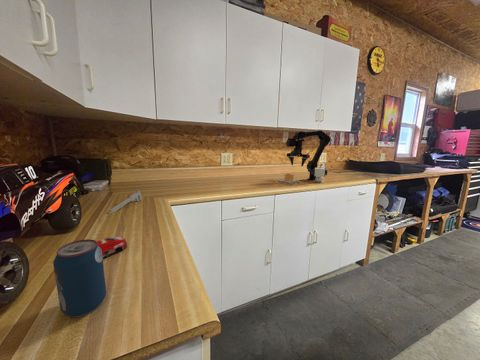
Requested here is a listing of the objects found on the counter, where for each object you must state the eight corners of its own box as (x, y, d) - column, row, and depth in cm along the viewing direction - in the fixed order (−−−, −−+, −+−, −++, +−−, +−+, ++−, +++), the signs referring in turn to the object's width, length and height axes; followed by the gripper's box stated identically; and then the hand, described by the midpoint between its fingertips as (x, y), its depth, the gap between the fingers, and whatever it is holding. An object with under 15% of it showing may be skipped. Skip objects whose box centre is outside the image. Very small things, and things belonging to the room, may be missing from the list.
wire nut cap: (287, 179, 172) (288, 172, 170) (293, 180, 168) (293, 173, 167) (284, 180, 168) (284, 173, 167) (289, 181, 165) (290, 174, 164)
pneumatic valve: (326, 182, 169) (327, 167, 166) (311, 181, 171) (312, 167, 169) (325, 181, 174) (326, 167, 172) (310, 180, 176) (311, 166, 174)
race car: (75, 273, 49) (73, 257, 48) (66, 265, 52) (64, 250, 51) (130, 249, 60) (129, 236, 59) (120, 243, 63) (119, 231, 62)
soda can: (114, 292, 43) (109, 238, 40) (91, 321, 36) (83, 258, 34) (80, 291, 43) (73, 237, 40) (50, 320, 36) (39, 257, 33)
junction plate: (286, 179, 177) (286, 174, 176) (300, 181, 168) (300, 176, 167) (277, 181, 168) (277, 175, 167) (291, 183, 159) (291, 178, 158)
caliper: (139, 200, 106) (138, 188, 105) (141, 200, 106) (140, 188, 105) (107, 214, 86) (106, 199, 85) (109, 214, 86) (108, 199, 85)
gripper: (283, 146, 172) (282, 165, 175) (303, 147, 159) (302, 167, 162) (290, 146, 179) (289, 164, 182) (310, 147, 166) (309, 166, 169)
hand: (296, 165), depth 174 cm, fingers open, 9 cm apart
